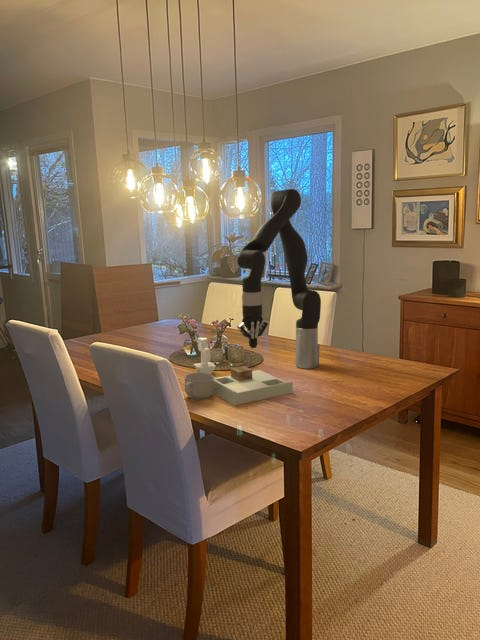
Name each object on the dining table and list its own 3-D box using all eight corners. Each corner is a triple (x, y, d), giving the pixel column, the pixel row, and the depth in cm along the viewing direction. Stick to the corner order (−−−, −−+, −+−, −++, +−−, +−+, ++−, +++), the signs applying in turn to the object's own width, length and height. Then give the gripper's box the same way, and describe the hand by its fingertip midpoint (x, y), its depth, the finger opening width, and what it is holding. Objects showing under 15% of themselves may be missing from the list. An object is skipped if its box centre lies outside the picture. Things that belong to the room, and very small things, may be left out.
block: (244, 374, 210) (244, 366, 209) (252, 378, 205) (252, 369, 204) (230, 377, 207) (230, 368, 206) (238, 381, 202) (238, 372, 201)
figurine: (200, 377, 217) (199, 341, 214) (192, 371, 225) (191, 336, 222) (217, 375, 220) (216, 339, 217) (208, 369, 228) (207, 335, 225)
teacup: (199, 390, 201) (198, 369, 200) (221, 396, 194) (220, 375, 193) (172, 400, 191) (171, 379, 189) (194, 407, 184) (193, 384, 182)
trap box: (259, 376, 217) (258, 364, 216) (293, 393, 197) (293, 379, 196) (204, 387, 205) (203, 374, 204) (234, 405, 185) (234, 391, 184)
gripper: (261, 300, 209) (262, 343, 212) (232, 303, 202) (233, 348, 206) (272, 302, 202) (272, 347, 206) (242, 306, 196) (243, 352, 199)
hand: (253, 347), depth 206 cm, fingers closed
